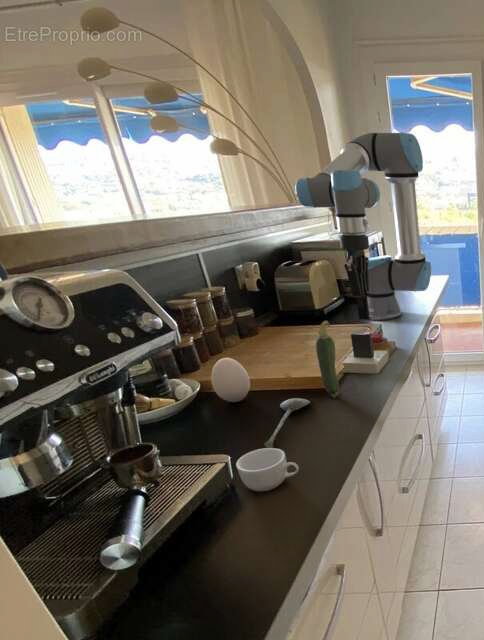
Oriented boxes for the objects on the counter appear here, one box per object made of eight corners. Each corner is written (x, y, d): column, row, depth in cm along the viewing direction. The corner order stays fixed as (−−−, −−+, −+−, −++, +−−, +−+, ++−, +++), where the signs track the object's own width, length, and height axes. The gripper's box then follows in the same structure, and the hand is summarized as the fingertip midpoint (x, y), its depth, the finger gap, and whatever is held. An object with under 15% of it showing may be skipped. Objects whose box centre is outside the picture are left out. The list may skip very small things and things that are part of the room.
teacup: (235, 498, 78) (227, 472, 75) (254, 472, 85) (247, 448, 82) (294, 496, 78) (288, 470, 76) (308, 470, 85) (303, 446, 83)
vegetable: (321, 398, 113) (307, 322, 105) (331, 391, 117) (318, 317, 108) (336, 400, 113) (323, 323, 104) (346, 393, 116) (334, 318, 108)
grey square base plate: (354, 358, 139) (352, 349, 138) (388, 360, 138) (387, 350, 137) (340, 372, 129) (338, 362, 128) (377, 373, 128) (376, 363, 127)
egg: (247, 391, 117) (236, 350, 112) (259, 400, 112) (248, 358, 107) (213, 401, 112) (200, 358, 107) (224, 411, 107) (211, 367, 102)
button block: (369, 346, 149) (368, 335, 147) (396, 347, 149) (394, 336, 147) (359, 357, 140) (357, 345, 138) (387, 358, 140) (385, 346, 138)
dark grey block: (353, 357, 132) (350, 333, 128) (356, 354, 133) (353, 331, 130) (372, 357, 131) (369, 334, 128) (374, 355, 133) (371, 332, 130)
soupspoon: (315, 403, 112) (288, 405, 112) (312, 391, 111) (284, 393, 110) (285, 447, 92) (252, 450, 92) (281, 433, 91) (247, 436, 90)
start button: (372, 339, 145) (371, 333, 144) (384, 339, 145) (384, 333, 144) (368, 343, 141) (367, 337, 140) (381, 343, 141) (380, 337, 140)
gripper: (358, 236, 115) (369, 325, 125) (374, 231, 126) (383, 313, 137) (330, 236, 115) (343, 324, 126) (348, 231, 127) (359, 312, 137)
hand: (364, 318), depth 131 cm, fingers closed
